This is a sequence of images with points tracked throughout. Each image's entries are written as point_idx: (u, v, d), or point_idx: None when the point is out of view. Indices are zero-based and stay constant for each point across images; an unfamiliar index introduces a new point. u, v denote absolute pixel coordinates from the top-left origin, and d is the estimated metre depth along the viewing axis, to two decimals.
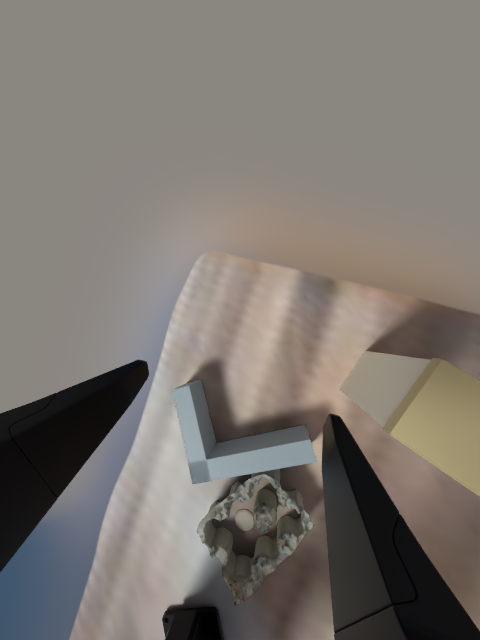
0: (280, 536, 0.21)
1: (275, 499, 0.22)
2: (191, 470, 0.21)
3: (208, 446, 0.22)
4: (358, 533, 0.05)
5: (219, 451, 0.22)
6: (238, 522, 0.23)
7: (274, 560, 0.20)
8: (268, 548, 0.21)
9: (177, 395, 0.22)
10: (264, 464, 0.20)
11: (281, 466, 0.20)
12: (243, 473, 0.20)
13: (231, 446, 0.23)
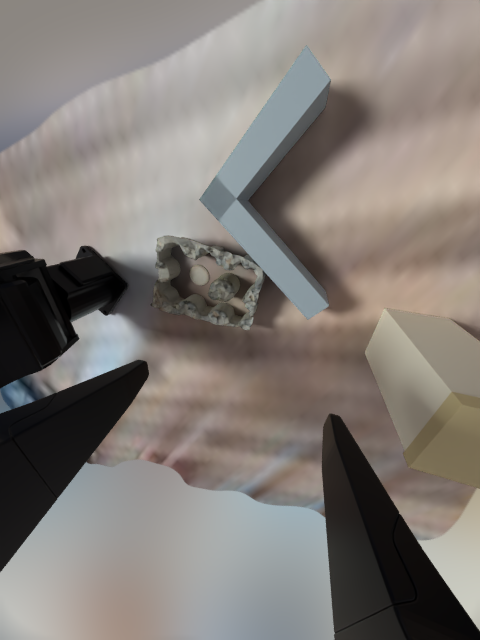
0: (218, 310, 0.21)
1: (237, 291, 0.21)
2: (211, 187, 0.15)
3: (247, 191, 0.15)
4: (358, 533, 0.05)
5: (250, 210, 0.16)
6: (193, 271, 0.22)
7: (199, 315, 0.21)
8: (200, 306, 0.22)
9: (301, 68, 0.11)
10: (274, 271, 0.16)
11: (283, 289, 0.17)
12: (250, 254, 0.16)
13: (262, 222, 0.17)
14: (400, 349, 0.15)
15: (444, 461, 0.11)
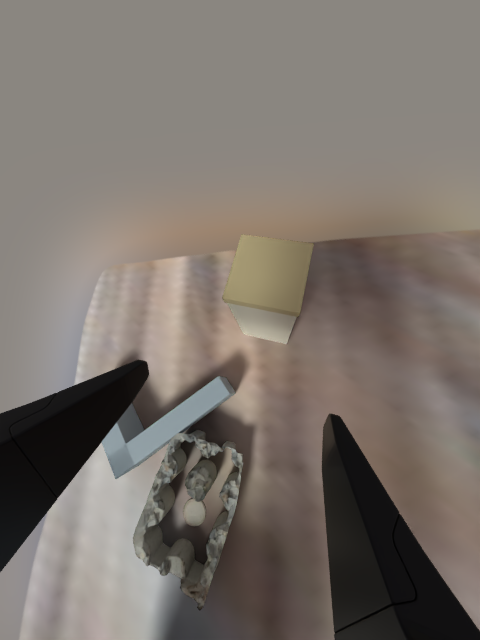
0: (221, 492, 0.19)
1: (210, 463, 0.21)
2: (112, 463, 0.19)
3: (130, 434, 0.21)
4: (358, 533, 0.05)
5: None
6: (189, 519, 0.20)
7: (224, 523, 0.17)
8: (221, 519, 0.19)
9: None
10: (183, 420, 0.19)
11: (200, 414, 0.19)
12: (165, 440, 0.19)
13: None
14: (249, 324, 0.20)
15: (283, 293, 0.14)
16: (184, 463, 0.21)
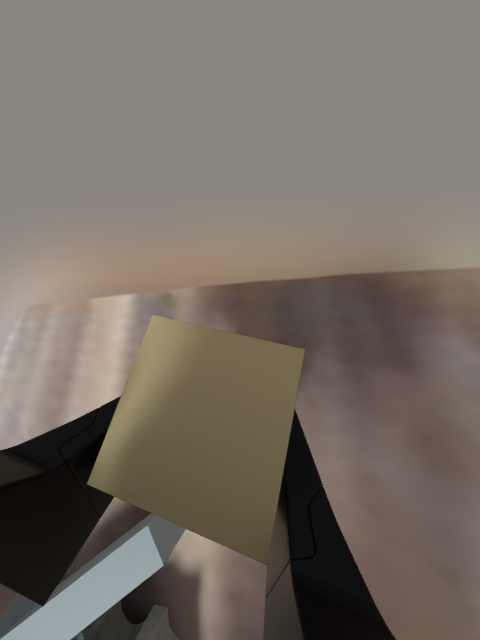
0: None
1: None
2: None
3: (6, 613, 0.13)
4: (282, 504, 0.06)
5: (25, 615, 0.12)
6: None
7: None
8: None
9: None
10: (82, 613, 0.11)
11: (110, 603, 0.11)
12: None
13: None
14: None
15: (227, 489, 0.05)
16: None
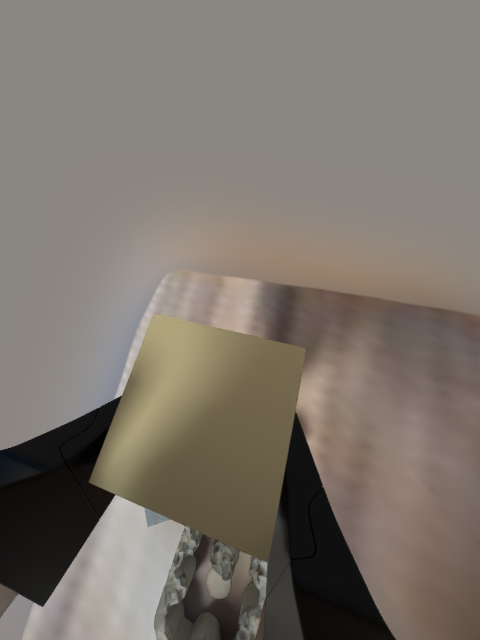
0: (250, 567, 0.17)
1: None
2: None
3: None
4: (282, 504, 0.06)
5: None
6: (213, 590, 0.18)
7: (255, 607, 0.16)
8: (251, 597, 0.17)
9: None
10: None
11: None
12: None
13: None
14: None
15: (228, 487, 0.05)
16: None
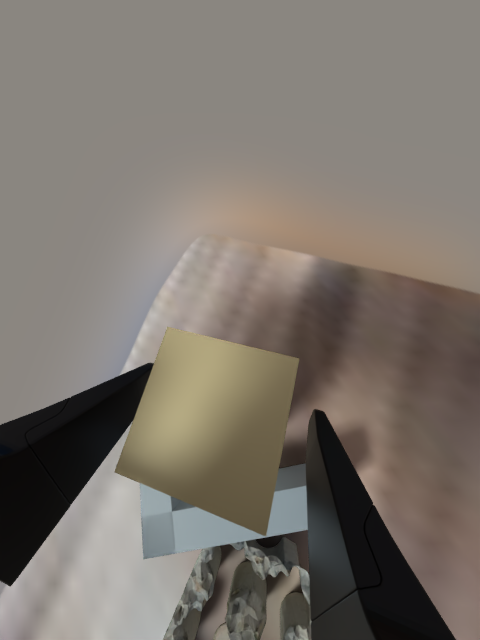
0: None
1: None
2: (145, 532, 0.13)
3: None
4: (332, 523, 0.05)
5: None
6: None
7: None
8: None
9: None
10: None
11: (296, 528, 0.12)
12: (231, 540, 0.12)
13: None
14: None
15: (233, 475, 0.07)
16: (219, 564, 0.14)
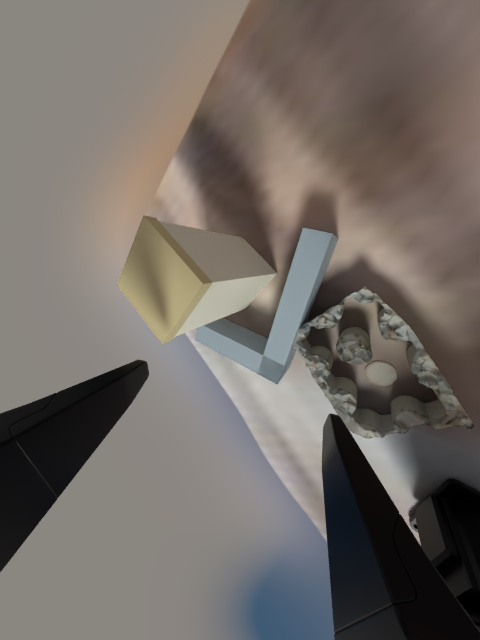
0: (383, 334, 0.15)
1: (349, 328, 0.17)
2: (265, 375, 0.19)
3: (261, 347, 0.20)
4: (358, 533, 0.05)
5: None
6: (382, 382, 0.17)
7: (415, 351, 0.14)
8: (411, 353, 0.15)
9: (200, 338, 0.22)
10: (299, 300, 0.16)
11: (312, 281, 0.15)
12: (295, 329, 0.16)
13: None
14: (225, 310, 0.18)
15: (178, 286, 0.11)
16: (328, 351, 0.19)
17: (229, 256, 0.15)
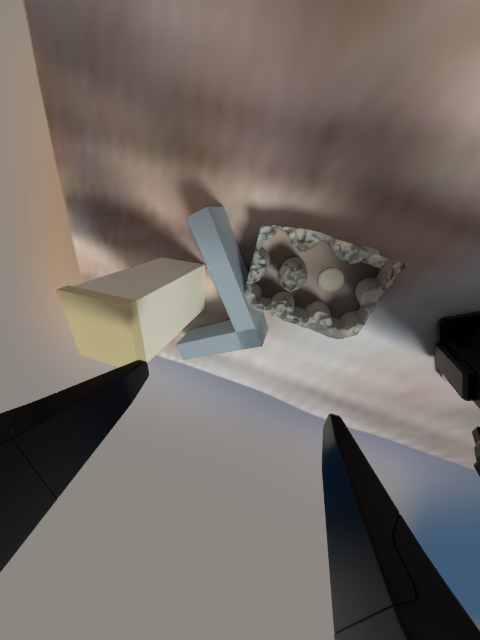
0: (301, 249, 0.16)
1: None
2: (249, 346, 0.20)
3: (233, 327, 0.21)
4: (358, 533, 0.05)
5: None
6: (336, 285, 0.19)
7: None
8: None
9: (186, 355, 0.23)
10: (225, 270, 0.17)
11: (222, 250, 0.17)
12: (240, 294, 0.18)
13: None
14: (182, 318, 0.19)
15: (114, 320, 0.13)
16: (283, 293, 0.20)
17: (150, 276, 0.17)
